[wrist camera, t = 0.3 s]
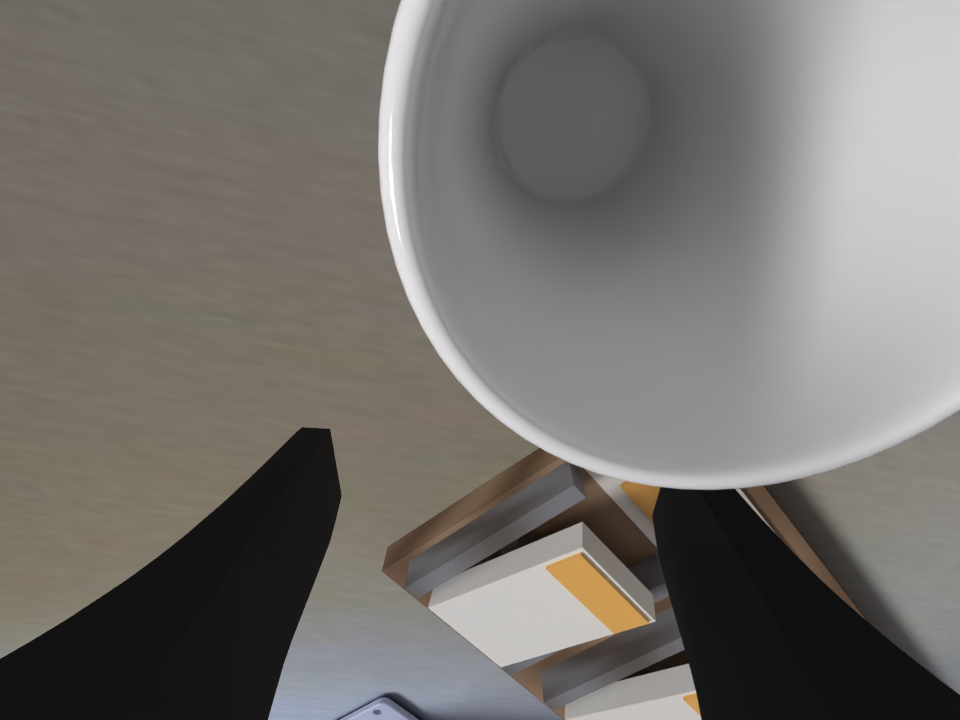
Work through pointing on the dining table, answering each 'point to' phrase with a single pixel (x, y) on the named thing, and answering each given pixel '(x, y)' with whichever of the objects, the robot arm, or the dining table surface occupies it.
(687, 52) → the drinking glass
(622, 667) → the switch board
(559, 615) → the rocker
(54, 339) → the dining table surface
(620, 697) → the rocker middle
